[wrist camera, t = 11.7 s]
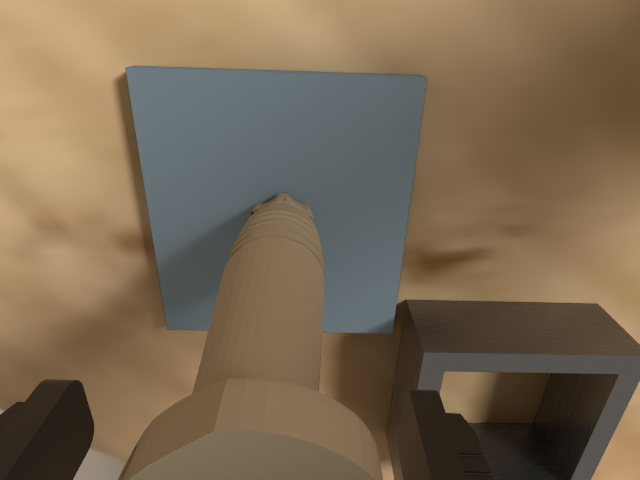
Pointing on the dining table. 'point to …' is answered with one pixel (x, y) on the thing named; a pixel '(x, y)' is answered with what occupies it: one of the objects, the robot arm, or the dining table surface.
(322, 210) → the rubber mat
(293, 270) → the handle
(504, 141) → the dining table surface
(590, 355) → the socket block
